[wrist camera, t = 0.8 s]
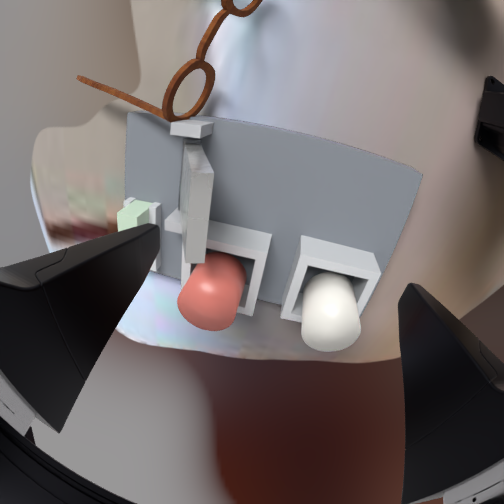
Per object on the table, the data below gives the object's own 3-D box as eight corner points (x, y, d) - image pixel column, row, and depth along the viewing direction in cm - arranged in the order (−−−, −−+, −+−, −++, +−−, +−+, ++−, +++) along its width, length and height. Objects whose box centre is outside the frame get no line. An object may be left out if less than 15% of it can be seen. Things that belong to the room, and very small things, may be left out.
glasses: (198, 123, 19) (169, 131, 15) (79, 79, 18) (40, 83, 14) (277, -19, 12) (269, -49, 8) (138, -43, 11) (106, -61, 7)
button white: (361, 278, 19) (370, 316, 15) (342, 316, 21) (346, 355, 17) (311, 266, 19) (311, 304, 16) (297, 306, 21) (294, 346, 18)
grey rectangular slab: (200, 138, 18) (217, 169, 12) (193, 206, 21) (206, 266, 15) (183, 137, 17) (189, 167, 11) (177, 205, 20) (183, 266, 14)
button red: (250, 258, 20) (238, 294, 16) (242, 299, 22) (231, 336, 18) (198, 246, 20) (177, 278, 16) (195, 287, 22) (177, 321, 18)
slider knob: (154, 203, 21) (136, 217, 19) (154, 223, 22) (137, 239, 20) (135, 199, 21) (117, 213, 19) (135, 219, 22) (118, 234, 20)
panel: (413, 167, 18) (439, 186, 14) (355, 306, 25) (361, 343, 21) (140, 110, 19) (105, 116, 15) (138, 254, 27) (114, 281, 23)
